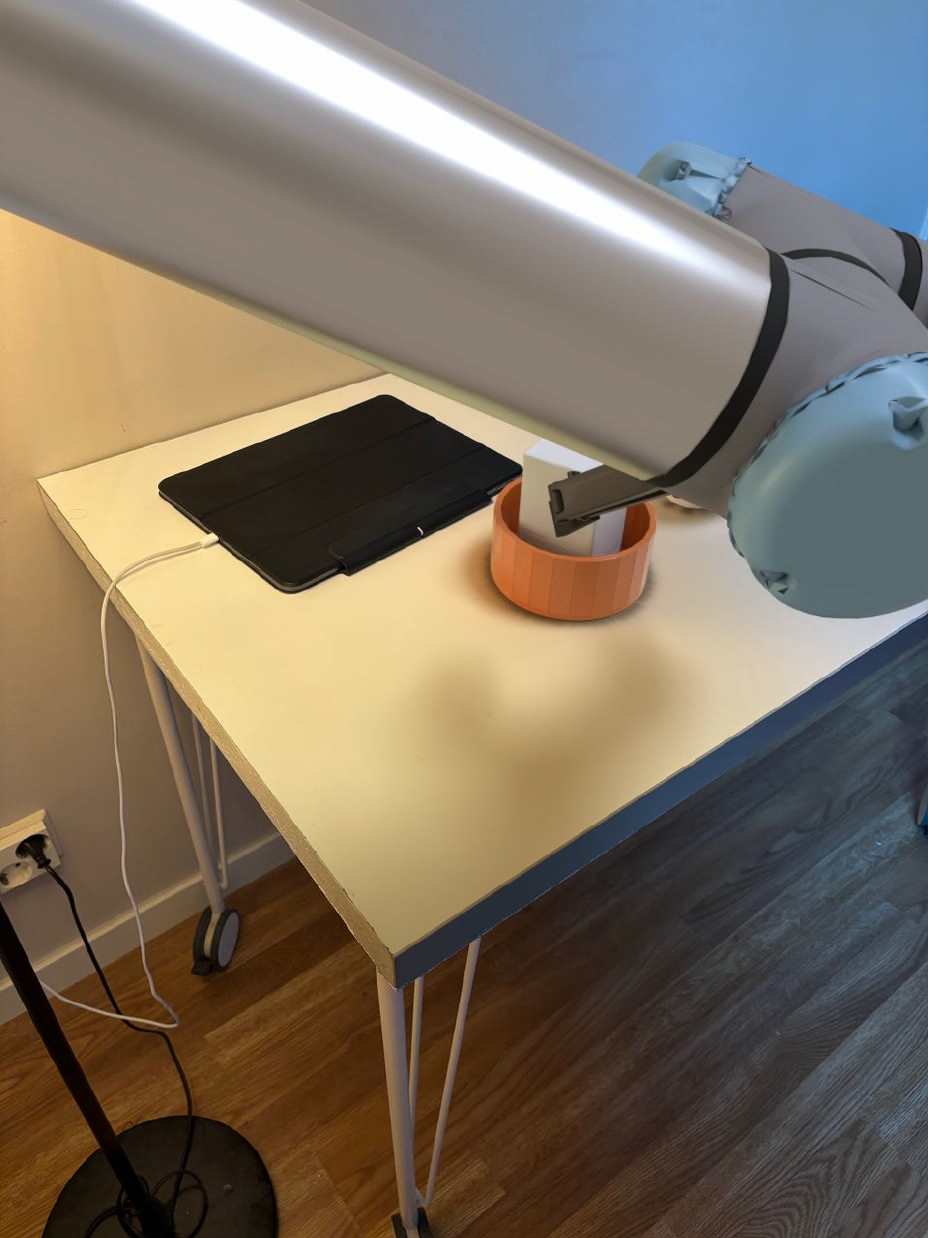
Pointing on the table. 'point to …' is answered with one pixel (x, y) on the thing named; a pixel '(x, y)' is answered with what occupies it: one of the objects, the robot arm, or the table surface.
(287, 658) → the table surface
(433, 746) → the table surface
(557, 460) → the white packaging box
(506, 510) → the orange round bowl
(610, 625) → the table surface
